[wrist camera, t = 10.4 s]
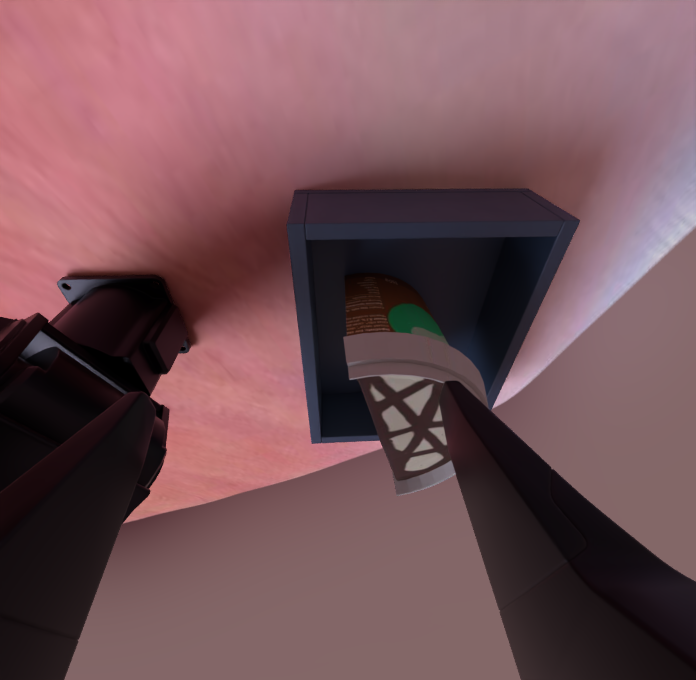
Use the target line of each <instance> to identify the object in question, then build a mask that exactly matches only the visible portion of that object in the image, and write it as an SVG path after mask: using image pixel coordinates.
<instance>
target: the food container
mask: <svg viewBox="0 0 696 680" xmlns="http://www.w3.org/2000/svg"><path fill="white" fill-rule="evenodd" d="M344 279H345V304H346V328H347V336H345V337H343V339H344V347H345V355H346V363H347V365H348V372H349V380H352V379H357V381H358V382H359V385H360V387H361V389H362V392H363V395H364V397H365V400H366V403H367V406H368V408H369V411H370V414H371V416H372V419H373V422H374V425H375V428H376V431H377V434H378V437H379V440H380V442H381V444H382V446H383V449H384V451H385V453H386V456H387V458H388V461H389V463H390V466H391V469H392V471H393V478H394V483H395V489H396V495H397V496H399V495H404V494H409V493H413V492H416V491H419V490H423V489H426V488H428V487H431V486H434V485H436V484H438V483H440V482H442V481H445V480H447V479H448V478H450V477H452V476H454V475H455V474H456V473H455V470H454V467H453V464H452V461H451V457H450V454H449V451H448V446H447V441H446V436H445V431H444V426H443V421H442V416H441V411H440V405H439V397H440V394H441V391H442V387H443V384H444V382H445V381H453V380H457V381H459V382H461V383H462V384H463V385H464V386H465V387H466V388H467V389H468V390H469V391H470V392H471V393H472V394H473V395H474V396H476V397H477V398H478V399H479V400H480V401H481V402H482V403H483V404H484V405H485V406H486V407H487V408H488V402H487V397H486V391H485V386H484V382H483V379H482V377H481V375H480V372H479V370H478V369H477V368H476V367H475V365H474V364H473V363H472V361H471V360H470V359H468V358H467V357H466V356H465V355H464V354H462V353H461V352H460V351H458V350H456V349H455V348H453V347H451V346H449V344H448V342H447V341H446V339H445V337H444V335H443V334H442V332H441V330H440V328H439V327H438V325H437V323H436V321H435V320H434V318H433V316H432V314H431V313H430V311H429V309H428V307H427V306H426V304H425V302H424V300H423V299H422V297H421V296H420V294H419V293H418V292H417V291H416V290H415V289H414V288H413V287H412V286H411V285H409V284H408V283H406V282H404V281H403V280H401V279H398V278H396V277H393V276H390V275H386V274H381V273H369V272H368V273H356V274H351V275H346V276H344ZM488 409H489V408H488Z"/></svg>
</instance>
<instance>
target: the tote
mask: <svg viewBox="0 0 696 680" xmlns="http://www.w3.org/2000/svg"><path fill="white" fill-rule="evenodd" d="M579 223H580V220H579V219H577V218H575V217H574V216H572V215H570V214H569V213H567V212H566V211H564V210H562V209H561V208H559V207H557V206H556V205H554V204H552V203H551V202H549V201H548V200H546V199H544V198H543V197H541V196H539V195H538V194H536V193H535V192H533V191H531V190H530V189H406V190H295V191H294V195H293V200H292V204H291V208H290V212H289V217H288V221H287V233H288V241H289V250H290V259H291V267H292V276H293V285H294V294H295V302H296V311H297V320H298V329H299V337H300V346H301V355H302V363H303V372H304V381H305V390H306V398H307V407H308V416H309V425H310V433H311V442H312V444H314V443H334V442H357V441H379V437H378V434H377V431H376V428H375V425H374V422H373V419H372V416H371V414H370V411H369V408H368V406H367V403H366V400H365V397H364V395H363V392H362V389H361V387H360V385H359V382H358V381H357V379H352V380H349V372H348V365H347V363H346V355H345V347H344V339H343V337H345V336H347V328H346V304H345V279H344V276H346V275H351V274H356V273H368V272H369V273H381V274H386V275H390V276H393V277H396V278H398V279H401V280H403V281H404V282H406V283H408V284H409V285H411V286H412V287H413V288H414V289H415V290H416V291H417V292H418V293H419V294H420V296H421V297H422V299H423V300H424V302H425V304H426V306H427V307H428V309H429V311H430V313H431V314H432V316H433V318H434V320H435V321H436V323H437V325H438V327H439V328H440V330H441V332H442V334H443V335H444V337H445V339H446V341H447V342H448V344H449V346H451V347H453V348H455V349H456V350H458V351H460V352H461V353H462V354H464V355H465V356H466V357H467V358H468V359H470V360H471V361H472V363H473V364H474V365H475V367H476V368H477V369H478V370H479V372H480V375H481V377H482V379H483V382H484V386H485V391H486V397H487V402H488V408H489V410H491V409H492V407H493V405H494V403H495V401H496V399H497V397H498V394H499V392H500V390H501V388H502V386H503V384H504V382H505V380H506V378H507V375H508V373H509V371H510V369H511V367H512V365H513V363H514V361H515V358H516V356H517V354H518V352H519V350H520V348H521V346H522V344H523V341H524V339H525V337H526V335H527V333H528V331H529V329H530V327H531V324H532V322H533V320H534V318H535V316H536V314H537V312H538V310H539V307H540V305H541V303H542V301H543V299H544V297H545V295H546V293H547V290H548V288H549V286H550V284H551V282H552V280H553V278H554V276H555V273H556V271H557V269H558V267H559V265H560V263H561V261H562V259H563V257H564V254H565V252H566V250H567V248H568V246H569V244H570V242H571V240H572V237H573V235H574V233H575V231H576V229H577V227H578V225H579Z"/></svg>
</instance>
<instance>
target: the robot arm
mask: <svg viewBox="0 0 696 680" xmlns="http://www.w3.org/2000/svg"><path fill="white" fill-rule="evenodd" d="M153 281H154V282H157V283H158V284H159V285H156V284H155V283H154V282H153ZM67 284H68V285H70V286H71V287H70V286H68V285H67ZM57 285H58V287H59V289H60V290H61V292H62V293H63V295H64V296H65V298H66V299H67V301H68V302H69V305H67V306H66V307H65V308H64V309H63V310H62V311H61V312H60V313H59V314H58V315H57V316H56V317H55V318H54V319H53V320H52V321H50V322H49V323H48V321H49V320H48V319H46V318H45V317H44V316H42V315H41V314H40V313H36V314H34V315H32V316H30V317H28V318H26V319H20V320H17V319H14V320H13V319H8V318H4V317H0V680H64V679H65V676H66V673H67V671H68V668H69V665H70V662H71V660H72V657H73V654H74V652H75V649H76V646H77V644H78V639H79V638H80V635H81V632H82V630H83V627H84V624H85V621H86V619H87V616H88V613H89V611H90V608H91V605H92V602H93V600H94V597H95V594H96V592H97V589H98V586H99V583H100V581H101V578H102V576H103V573H104V570H105V568H106V565H107V562H108V559H109V557H110V554H111V551H112V548H113V546H114V543H115V540H116V538H117V535H118V532H119V530H120V527H121V525H122V523H123V522H124V521H125V520H126V519H127V517H128V516H129V515H130V514H131V512H132V511H133V510H134V509H135V508H136V507H137V506H138V505H139V504H141V503H142V502H143V501H144V500H145V499H146V498H147V497H148V496H149V494H150V490H149V488H150V486H151V485H152V484H153V482H154V481H155V480H156V478H157V476H158V474H159V473H160V470H161V468H162V466H163V462H164V458H165V456H166V451H167V449H166V439H167V429H168V420H169V409H168V408H167V407H165V406H164V405H160V404H159V403H157V402H156V401H154V400H153V399H152V398H150V395H151V394H152V392H153V390H154V388H155V386H156V384H157V382H158V380H159V378H160V376H161V375H162V374H167V373H168V372H169V371H170V369H171V367H172V365H173V363H174V361H175V359H176V357H177V355H178V353H187V352H189V350H190V348H191V344H190V342H189V339H188V337H187V335H188V332H187V329H186V327H185V324H184V322H183V319H182V317H181V314H180V312H179V309H178V307H177V306H176V305H175V304H174V302H173V300H172V297H171V295H170V292H169V290H168V287H167V285H166V282H165V280H164V279H163V278H162V277H160V276H158V275H125V276H73V277H63V278H62V279H60V280H59V281H58V282H57ZM182 346H184V347H182ZM439 405H440V411H441V416H442V421H443V426H444V431H445V436H446V441H447V446H448V451H449V454H450V457H451V461H452V464H453V467H454V470H455V473H456V476H457V479H458V483H459V486H460V489H461V492H462V495H463V498H464V501H465V504H466V508H467V511H468V514H469V517H470V520H471V523H472V526H473V530H474V533H475V536H476V539H477V542H478V545H479V549H480V552H481V555H482V558H483V561H484V564H485V567H486V571H487V574H488V577H489V580H490V583H491V586H492V589H493V593H494V595H495V599H496V602H497V605H498V608H499V610H500V615H501V618H502V621H503V624H504V628H505V631H506V634H507V637H508V640H509V643H510V647H511V649H512V652H513V656H514V659H515V662H516V665H517V669H518V672H519V675H520V678H521V680H696V582H695V581H694V580H692V579H690V578H688V577H686V576H685V575H683V574H681V573H680V572H678V571H676V570H675V569H673V568H672V567H670V566H669V565H668V564H666V563H665V562H663V561H662V560H661V559H659V558H658V557H657V556H656V555H654V554H653V553H652V552H651V551H649V550H648V549H647V548H646V547H644V546H643V545H642V544H640V543H639V542H638V541H637V540H636V539H635V538H633V537H632V536H631V535H629V534H628V533H627V532H626V531H625V530H623V529H622V528H621V527H620V526H618V525H617V524H616V523H615V522H613V521H612V520H611V519H610V518H608V517H607V516H606V515H605V514H604V513H602V512H601V511H600V510H599V509H598V508H596V507H595V506H594V505H593V504H592V503H590V502H589V501H588V500H587V499H586V498H584V497H583V496H582V495H581V494H580V493H579V492H578V491H577V490H576V489H574V488H573V487H572V486H571V485H570V484H569V483H568V482H567V481H566V480H564V479H563V478H562V477H561V476H560V475H559V474H558V473H557V472H556V471H555V470H553V469H552V470H551V467H550V466H549V465H548V464H547V463H546V462H545V461H544V460H543V459H542V458H541V457H540V456H539V455H538V454H536V453H535V452H534V451H533V450H532V449H531V448H530V447H529V446H528V445H527V444H526V443H525V442H524V441H523V440H521V439H520V438H519V437H518V436H517V435H516V434H515V433H514V432H513V431H512V430H511V429H510V428H509V427H508V426H507V425H505V424H504V423H503V422H502V421H501V420H500V419H499V418H498V417H497V416H496V415H495V414H494V413H493V412H492V411H491V410H489V409H488V408H487V407H486V406H485V405H484V404H483V403H482V402H481V401H480V400H479V399H478V398H477V397H476V396H474V395H473V394H472V393H471V392H470V391H469V390H468V389H467V388H466V387H465V386H464V385H463V384H462V383H461V382H459V381H457V380H453V381H445V382H444V384H443V387H442V391H441V394H440V397H439Z"/></svg>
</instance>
